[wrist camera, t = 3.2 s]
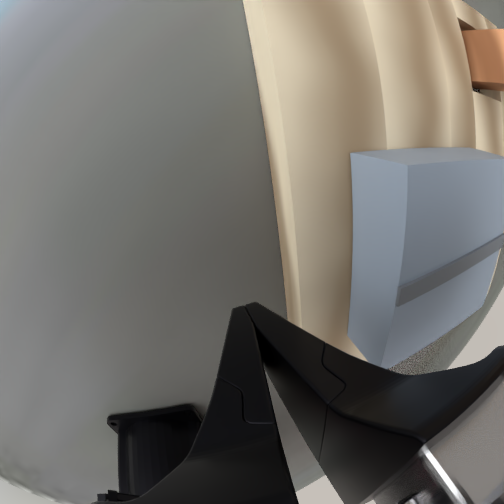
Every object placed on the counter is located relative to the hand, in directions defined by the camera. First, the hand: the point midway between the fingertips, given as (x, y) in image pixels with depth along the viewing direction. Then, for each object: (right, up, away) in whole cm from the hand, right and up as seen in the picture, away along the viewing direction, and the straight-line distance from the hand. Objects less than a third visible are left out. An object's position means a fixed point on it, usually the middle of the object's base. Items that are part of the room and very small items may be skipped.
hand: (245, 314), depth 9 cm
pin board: (+11, +7, +4) cm, 13 cm away
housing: (+9, +3, +3) cm, 10 cm away
